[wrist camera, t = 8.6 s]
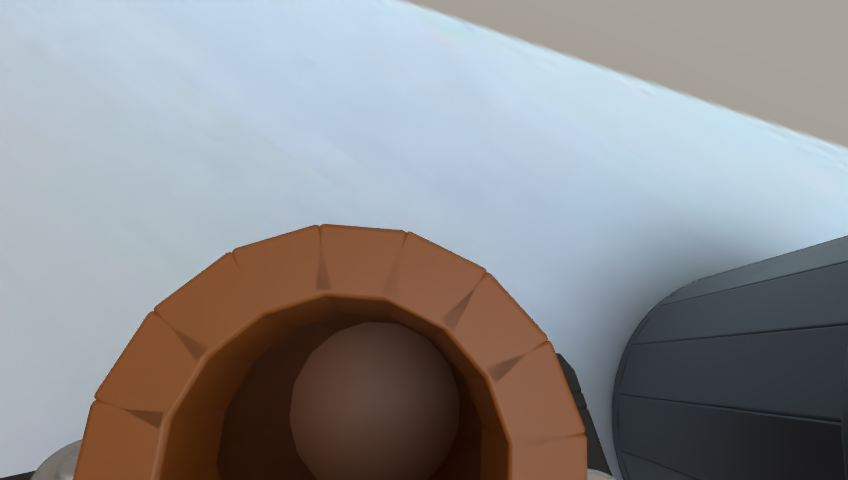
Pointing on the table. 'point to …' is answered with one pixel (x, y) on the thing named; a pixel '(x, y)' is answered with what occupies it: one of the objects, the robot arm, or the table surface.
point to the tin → (740, 375)
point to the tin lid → (845, 415)
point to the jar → (336, 372)
